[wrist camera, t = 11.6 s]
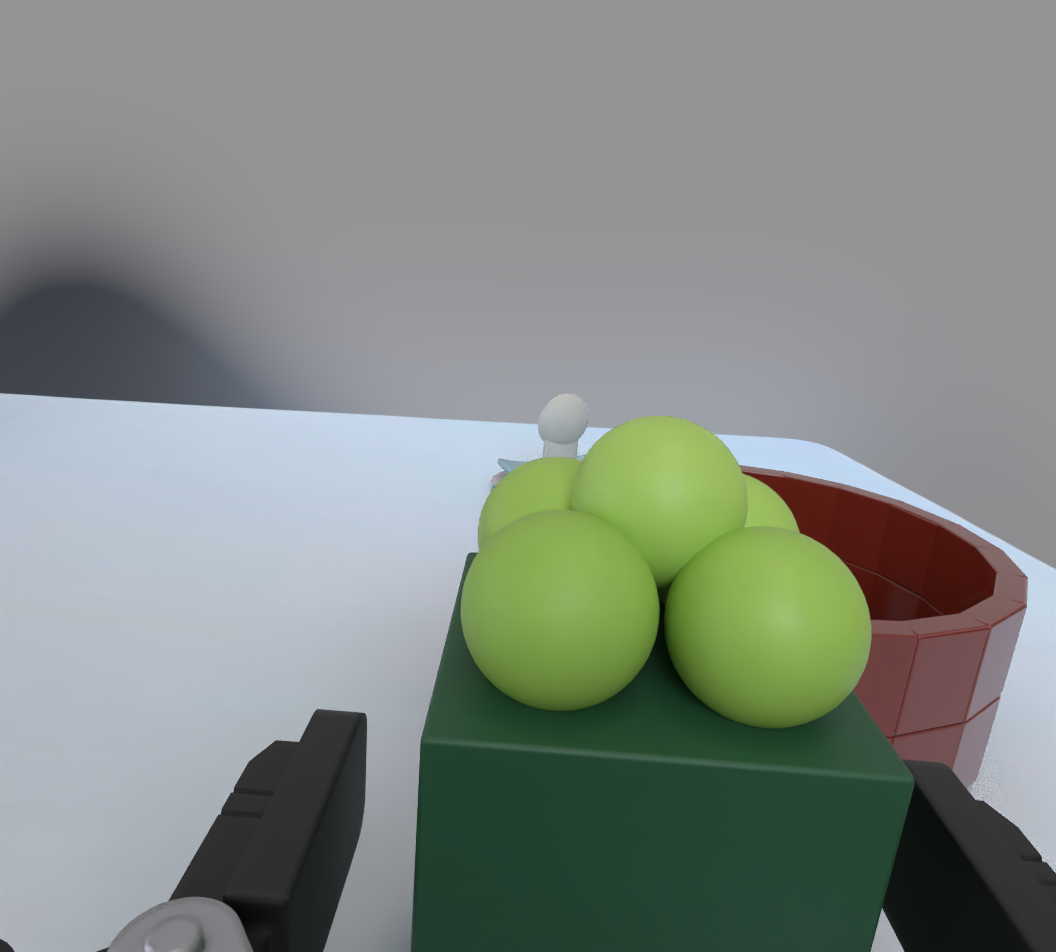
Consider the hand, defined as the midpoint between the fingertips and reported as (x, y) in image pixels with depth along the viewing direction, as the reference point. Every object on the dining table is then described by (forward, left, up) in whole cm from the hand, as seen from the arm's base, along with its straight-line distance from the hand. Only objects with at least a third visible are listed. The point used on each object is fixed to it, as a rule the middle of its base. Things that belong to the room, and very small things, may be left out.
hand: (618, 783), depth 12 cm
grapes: (0, 0, -6) cm, 6 cm away
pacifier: (+28, +18, -6) cm, 34 cm away
